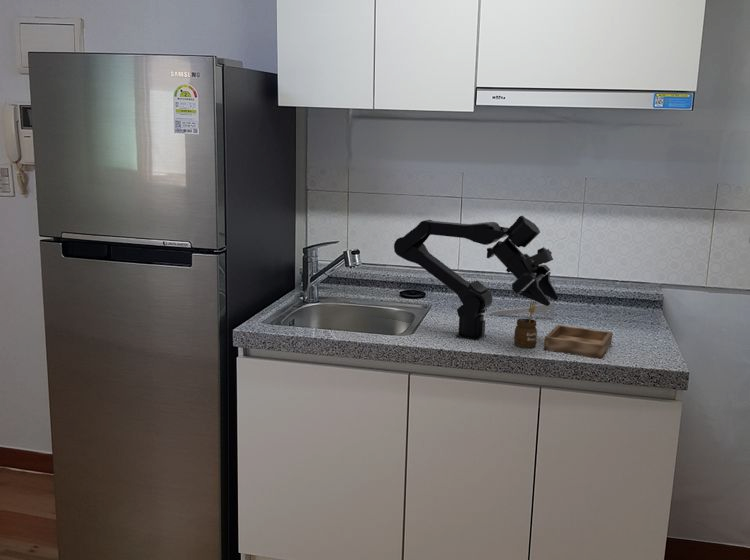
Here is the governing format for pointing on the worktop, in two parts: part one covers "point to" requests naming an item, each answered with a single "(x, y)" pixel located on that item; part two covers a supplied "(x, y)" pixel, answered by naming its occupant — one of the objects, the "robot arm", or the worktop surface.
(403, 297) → the worktop surface
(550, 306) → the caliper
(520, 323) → the utensil holder
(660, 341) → the worktop surface
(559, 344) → the tray
